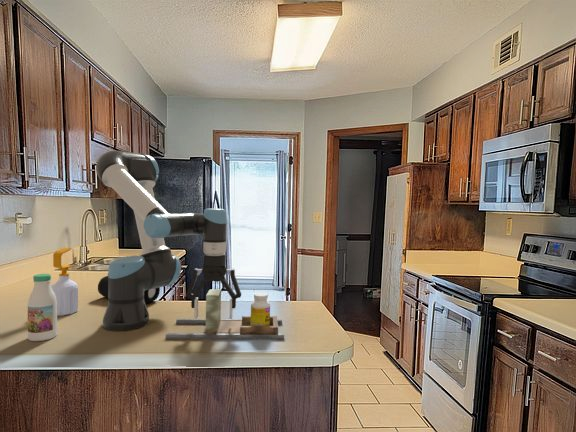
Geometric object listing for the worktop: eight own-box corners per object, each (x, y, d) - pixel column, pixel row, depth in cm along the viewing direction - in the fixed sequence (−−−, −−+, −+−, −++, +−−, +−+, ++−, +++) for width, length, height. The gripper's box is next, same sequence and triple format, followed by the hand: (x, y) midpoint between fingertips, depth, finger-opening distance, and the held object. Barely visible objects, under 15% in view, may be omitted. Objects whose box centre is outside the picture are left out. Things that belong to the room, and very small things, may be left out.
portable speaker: (161, 300, 160) (161, 277, 160) (146, 306, 151) (146, 282, 150) (112, 294, 168) (113, 272, 167) (95, 299, 158) (95, 276, 158)
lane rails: (165, 339, 117) (165, 334, 117) (177, 322, 133) (177, 318, 133) (284, 339, 120) (284, 334, 120) (281, 323, 135) (282, 319, 135)
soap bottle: (83, 310, 143) (83, 248, 141) (60, 317, 134) (59, 251, 133) (68, 307, 146) (67, 246, 145) (44, 313, 138) (44, 249, 137)
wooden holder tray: (203, 336, 120) (203, 296, 119) (208, 323, 131) (209, 288, 131) (277, 336, 122) (278, 297, 121) (276, 324, 133) (277, 288, 132)
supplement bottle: (266, 335, 123) (267, 297, 122) (247, 333, 124) (248, 296, 124) (271, 328, 130) (272, 292, 129) (253, 326, 131) (254, 291, 130)
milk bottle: (37, 332, 120) (36, 272, 119) (61, 332, 120) (61, 272, 119) (22, 342, 112) (21, 277, 111) (48, 342, 113) (48, 277, 112)
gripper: (176, 255, 120) (176, 320, 121) (248, 256, 122) (247, 321, 123) (181, 251, 128) (181, 313, 129) (249, 252, 129) (248, 314, 130)
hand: (213, 317), depth 126 cm, fingers open, 11 cm apart
